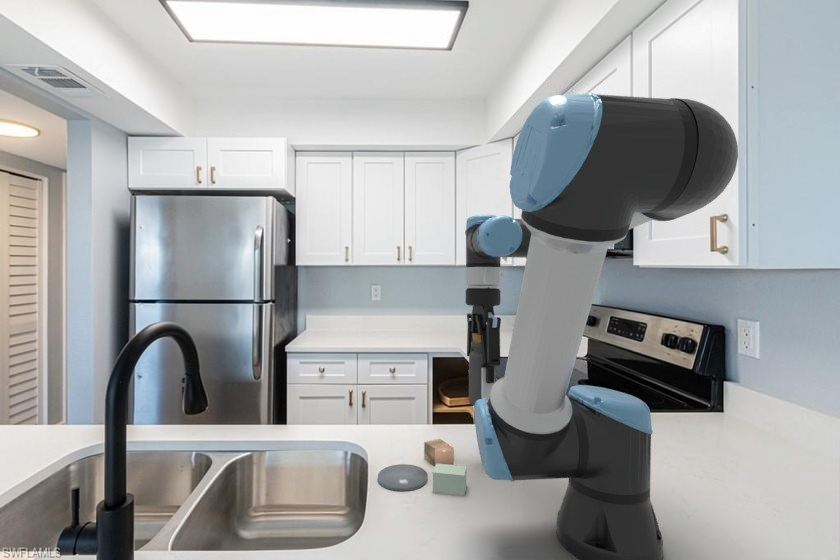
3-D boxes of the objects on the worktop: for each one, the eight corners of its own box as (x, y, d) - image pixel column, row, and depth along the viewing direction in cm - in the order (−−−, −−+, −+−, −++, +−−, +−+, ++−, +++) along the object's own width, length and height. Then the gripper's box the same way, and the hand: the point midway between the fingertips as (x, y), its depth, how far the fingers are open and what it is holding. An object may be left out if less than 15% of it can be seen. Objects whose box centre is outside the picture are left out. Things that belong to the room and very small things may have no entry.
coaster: (433, 488, 84) (433, 484, 84) (381, 493, 81) (381, 489, 81) (421, 466, 93) (421, 462, 93) (374, 470, 91) (374, 466, 91)
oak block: (448, 462, 95) (449, 444, 95) (433, 466, 93) (433, 447, 93) (439, 456, 99) (439, 438, 99) (424, 459, 97) (424, 441, 97)
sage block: (464, 496, 81) (464, 475, 81) (432, 493, 82) (432, 472, 82) (466, 486, 85) (466, 466, 85) (436, 483, 86) (436, 463, 86)
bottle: (494, 399, 96) (495, 332, 97) (497, 407, 91) (497, 335, 91) (468, 398, 97) (468, 331, 97) (468, 406, 91) (469, 334, 91)
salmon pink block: (456, 476, 89) (456, 451, 89) (437, 478, 88) (437, 453, 88) (450, 467, 93) (450, 444, 93) (432, 469, 92) (432, 445, 92)
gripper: (518, 287, 86) (517, 404, 86) (482, 287, 104) (482, 383, 104) (483, 287, 84) (482, 407, 84) (453, 286, 102) (452, 385, 102)
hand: (482, 393), depth 94 cm, fingers closed on bottle, 6 cm apart
